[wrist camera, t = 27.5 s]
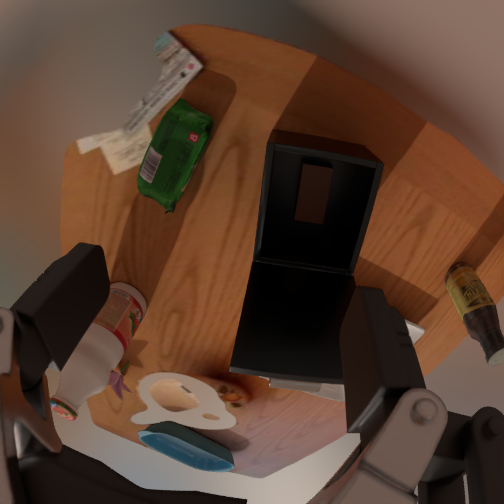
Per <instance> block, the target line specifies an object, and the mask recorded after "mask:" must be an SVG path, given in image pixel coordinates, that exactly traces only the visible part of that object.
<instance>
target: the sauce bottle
mask: <svg viewBox="0 0 504 504" xmlns="http://www.w3.org/2000/svg"><path fill="white" fill-rule="evenodd" d="M445 283H446V288H447V290H448V292H449V294H450V296H451V298H452V300H453V302H454V304H455V306H456V308H457V311H458V313H459V315H460V317H461V319H462V321H463V323H464V325H465V326H466V329H467V331H468V333H469V335H470V336H471V338H473V339H475V340H477V341H479V342H480V344H481V346H482V348H483V350H484V352H485V354H486V361H487V363H488V365H489V366H496V365H499V364H501V363H502V362H503V361H504V337H503V335H502V333H501V330H500V326H499V319H498V314H497V310H496V305H495V303H494V302H493V300H492V298H491V297H490V295H489V293H488V292H487V290H486V288H485V286H484V285H483V283H482V282H481V280H480V279H479V277H478V276H477V274H476V273H475V271H474V270H473V269H472V268H471V266H470V265H468V264H466V263H459V264H456V265H455V266H453V267H452V268H450V270H449V271H448V273H447V275H446V278H445Z"/></svg>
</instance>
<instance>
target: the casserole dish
mask: <svg viewBox="0 0 504 504" xmlns="http://www.w3.org/2000/svg"><path fill="white" fill-rule="evenodd" d="M138 434H139V440H140V441H141V442H143V443H144V444H146V445H147V446H149V447H151V448H153V449H155V450H156V451H158V452H160V453H162V454H165V455H167V456H168V457H170V458H173V459H175V460H177V461H179V462H181V463H183V464H186V465H188V466H190V467H193V468H196V469H199V470H203V471H213V472H229V471H231V469H233V468H234V467H235V466H234V461H233V456H232V454H231V452H230V451H229V450H228V449H227V448H225V447H223V446H221V445H219V444H218V443H216V442H214V441H212V440H210V439H208V438H206V437H203V436H202V435H200V434H198V433H196V432H194V431H192V430H190V429H188V428H186V427H184V426H182V425H180V424H178V423H176V422H173V421H164V422H160V423H156V424H153V425H151V426H149V427H147V428H146V429H145V430H142V431H139V432H138Z"/></svg>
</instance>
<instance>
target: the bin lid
mask: <svg viewBox="0 0 504 504" xmlns="http://www.w3.org/2000/svg"><path fill="white" fill-rule="evenodd" d="M355 288H356V284H355V279H354V276H351V275H344V274H337V273H331V272H324V271H317V270H310V269H303V268H296V267H290V266H283V265H276V264H269V263H263V262H256V261H252V266H251V270H250V275H249V280H248V284H247V289H246V294H245V298H244V303H243V307H242V312H241V317H240V321H239V326H238V331H237V335H236V340H235V344H234V349H233V354H232V358H231V363H230V370H229V371H230V372H235V373H242V374H248V375H254V376H261V377H269V378H270V379H269V387H272V388H280V389H289V390H298V391H309V392H319V391H320V389H321V385H322V383H325V384H338V385H344V381H343V371H342V361H341V351H340V342H339V338H340V329H341V325H342V322H343V319H344V317H345V314H346V312H347V309H348V306H349V304H350V301H351V298H352V296H353V293H354V290H355Z"/></svg>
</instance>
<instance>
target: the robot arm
mask: <svg viewBox="0 0 504 504" xmlns="http://www.w3.org/2000/svg"><path fill="white" fill-rule="evenodd" d="M109 294H110V281H109V276H108V271H107V266H106V261H105V256H104V251H103V248H102V247H101V246H99V245H93V244H88V243H82V242H81V243H78V244H77V245H76V246H75V247H74V248H73V249H72V250H71V251H70V252H69V253H68V254H67V255H65V256H63V257H61V258H60V259H58V260H56V261H54V262H53V263H52V264H51V265H50V266H49V267H48V268H47V269H46V270H45V271H44V274H43V273H42V274H41V275H40V276H39V277H38V278H37V281H35V282H34V283H33V284H32V285H31V286H30V287H29V288H28V289H27V290H26V291H25V292H24V293H23V294H22V296H21V297H20V298H19V299H18V300H17V301H16V302H15V303H14V305H13V306H12V307H11V308H10V309H7V308H3V307H0V504H247V499H240V498H233V497H226V496H220V495H215V494H209V493H204V492H199V491H172V490H152V489H145V488H141V487H139V486H137V485H136V484H134V483H133V482H131V481H129V480H128V479H126V478H125V477H123V476H122V475H120V474H119V473H117V472H116V471H114V470H113V469H111V468H110V467H108V466H107V465H105V464H104V463H102V462H101V461H99V460H96V459H94V458H92V457H89V456H87V455H85V454H82V453H80V452H78V451H76V450H74V449H72V448H70V447H67V446H66V445H63V444H62V442H61V440H60V438H59V436H58V434H57V432H56V430H55V427H54V423H53V417H52V411H51V404H50V397H49V390H48V381H47V376H46V374H45V371H46V369H47V368H48V367H50V368H52V369H55V370H57V371H59V372H61V371H62V369H63V368H64V366H65V364H66V363H67V361H68V359H69V358H70V356H71V355H72V353H73V351H74V350H75V348H76V347H77V345H78V344H79V342H80V340H81V339H82V337H83V336H84V334H85V333H86V331H87V330H88V328H89V327H90V325H91V324H92V322H93V321H94V319H95V318H96V316H97V315H98V313H99V312H100V310H101V309H102V308H103V306H104V305H105V303H106V302H107V300H108V297H109ZM339 342H340V351H341V361H342V371H343V381H344V393H345V406H346V421H347V433H360V440H361V442H360V443H359V445H358V446H357V447H356V448H355V450H354V451H353V452H352V453H351V455H350V456H349V457H348V459H347V460H346V461H345V462H344V464H343V465H342V466H341V467H340V468H339V470H338V471H337V472H336V473H335V474H334V476H333V477H332V478H331V479H330V480H329V481H328V482H327V484H326V485H325V486H324V487H323V488H322V489H321V490H320V491H319V492H318V493H317V494H316V495H315V496H314V497H313V498H312V499H311V500H310V501H309V502H308V503H307V504H417V501H418V504H466V503H465V491H464V481H463V476H464V475H465V474H466V475H467V484H468V494H469V504H504V415H503V414H502V413H501V412H500V411H499V410H497V409H496V408H493V407H483V408H481V409H480V410H478V411H477V412H476V413H475V414H474V415H473V416H472V417H470V416H465V415H461V414H457V413H454V412H450V411H447V409H446V406H445V404H444V403H443V401H442V400H441V398H440V397H439V396H438V395H436V394H435V393H433V392H432V391H430V390H427V389H426V386H425V382H424V378H423V375H422V372H421V368H420V365H419V361H418V358H417V355H416V352H415V349H414V347H413V342H412V339H411V336H409V330H408V327H407V324H406V322H405V319H404V318H403V317H402V315H401V314H400V313H399V312H398V311H397V309H396V308H395V307H388V304H387V301H386V298H385V295H384V292H383V290H382V289H379V288H371V287H363V286H357V287H356V288H355V290H354V293H353V296H352V298H351V301H350V304H349V306H348V309H347V312H346V314H345V317H344V319H343V322H342V325H341V329H340V338H339ZM417 484H418V496H416V495H415V494H414V491H415V488H416V486H417Z"/></svg>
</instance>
